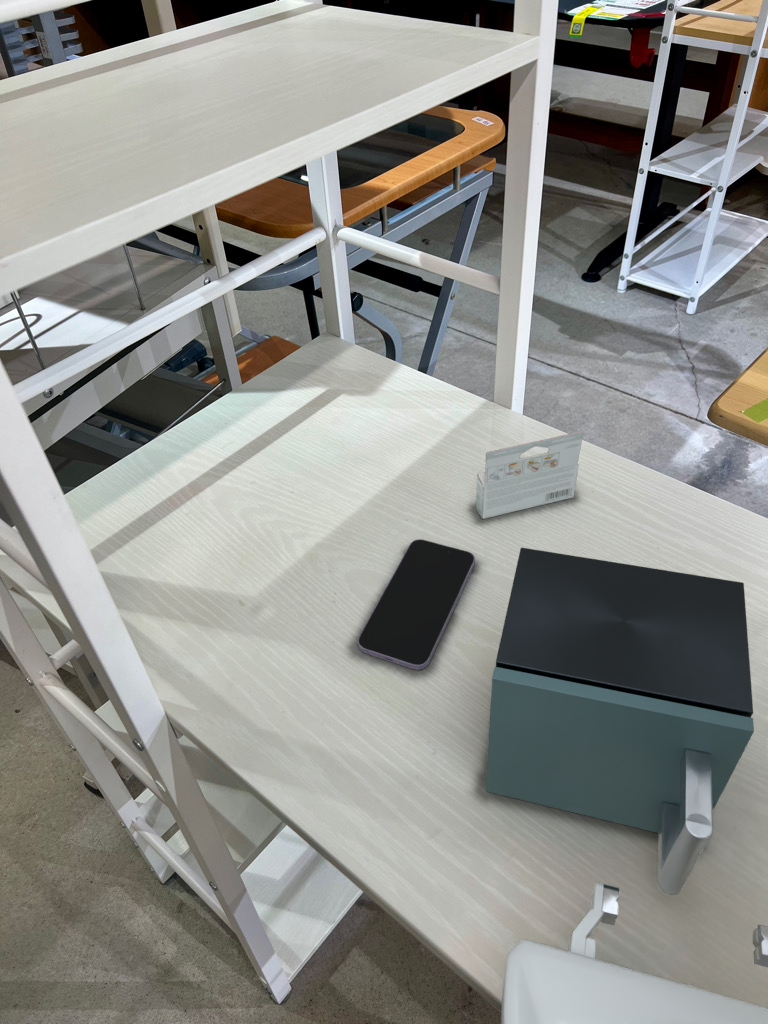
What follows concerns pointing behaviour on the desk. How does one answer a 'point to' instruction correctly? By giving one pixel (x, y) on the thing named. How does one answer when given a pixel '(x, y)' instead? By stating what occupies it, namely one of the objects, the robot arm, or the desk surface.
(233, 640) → the desk surface
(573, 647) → the black cabinet
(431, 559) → the smartphone
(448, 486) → the desk surface
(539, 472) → the ink box
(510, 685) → the door
